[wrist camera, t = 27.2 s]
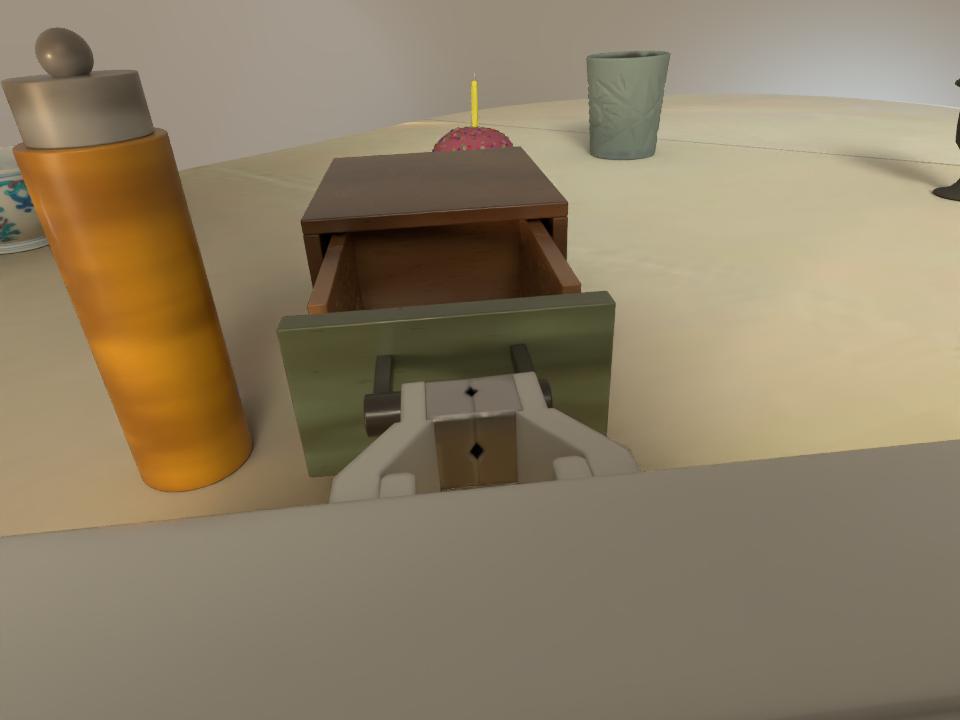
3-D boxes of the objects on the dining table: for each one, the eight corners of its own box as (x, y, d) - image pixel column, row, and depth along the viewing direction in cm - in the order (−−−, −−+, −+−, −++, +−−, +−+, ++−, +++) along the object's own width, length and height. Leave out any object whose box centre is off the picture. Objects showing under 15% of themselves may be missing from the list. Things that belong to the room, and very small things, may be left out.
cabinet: (564, 349, 36) (568, 201, 32) (327, 369, 35) (300, 220, 31) (522, 258, 50) (521, 146, 45) (350, 270, 49) (333, 158, 44)
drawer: (638, 520, 23) (656, 356, 19) (292, 556, 22) (248, 391, 18) (542, 309, 39) (543, 200, 36) (342, 325, 38) (324, 215, 35)
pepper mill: (122, 464, 28) (-55, 33, 20) (218, 415, 31) (100, 26, 23) (174, 508, 26) (-6, 29, 17) (273, 450, 29) (164, 22, 20)
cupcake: (446, 186, 71) (438, 71, 65) (519, 186, 70) (518, 69, 64) (427, 206, 64) (417, 79, 58) (509, 207, 62) (506, 77, 57)
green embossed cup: (666, 147, 85) (675, 50, 79) (653, 163, 77) (663, 55, 71) (593, 144, 89) (597, 51, 83) (574, 159, 81) (577, 57, 75)
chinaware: (19, 275, 51) (-21, 180, 47) (-118, 267, 54) (-167, 177, 51) (144, 221, 64) (120, 143, 60) (26, 217, 67) (-4, 143, 63)
